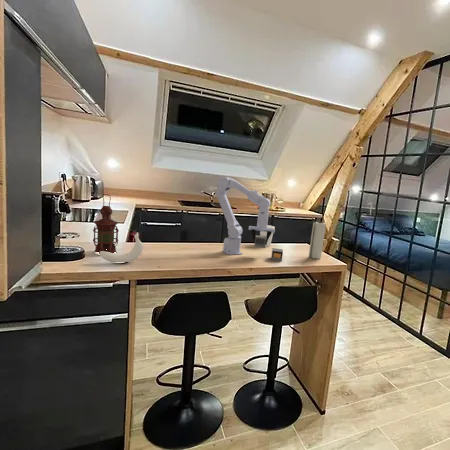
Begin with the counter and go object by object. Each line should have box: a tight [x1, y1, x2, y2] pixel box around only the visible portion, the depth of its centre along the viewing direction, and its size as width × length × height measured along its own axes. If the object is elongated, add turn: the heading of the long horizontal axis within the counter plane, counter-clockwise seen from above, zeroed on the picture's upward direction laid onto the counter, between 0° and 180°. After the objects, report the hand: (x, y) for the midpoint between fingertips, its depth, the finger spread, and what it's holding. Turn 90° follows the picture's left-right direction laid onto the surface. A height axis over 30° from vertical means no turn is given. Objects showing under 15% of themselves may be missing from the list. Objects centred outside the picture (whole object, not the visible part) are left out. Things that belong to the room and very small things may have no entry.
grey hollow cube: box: [253, 234, 266, 249], centre depth 170 cm, size 6×6×6 cm
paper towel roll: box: [308, 221, 327, 260], centre depth 180 cm, size 7×6×21 cm
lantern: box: [92, 193, 120, 253], centre depth 152 cm, size 12×12×30 cm
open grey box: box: [270, 247, 284, 262], centre depth 170 cm, size 6×6×6 cm
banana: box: [99, 232, 144, 263], centre depth 140 cm, size 5×19×15 cm, turn 110°
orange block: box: [273, 252, 281, 258], centre depth 170 cm, size 4×4×4 cm
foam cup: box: [259, 224, 276, 248], centre depth 200 cm, size 10×9×13 cm
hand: (260, 243), depth 171 cm, fingers closed on grey hollow cube, 6 cm apart
